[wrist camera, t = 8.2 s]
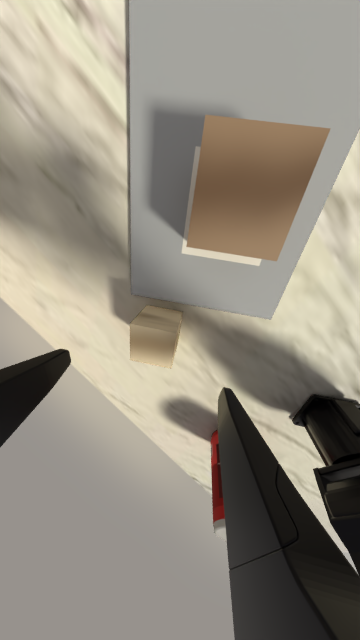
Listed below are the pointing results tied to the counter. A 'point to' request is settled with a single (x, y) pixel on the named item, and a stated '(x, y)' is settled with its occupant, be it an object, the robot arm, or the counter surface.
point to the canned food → (217, 490)
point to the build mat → (236, 102)
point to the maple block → (155, 336)
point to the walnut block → (251, 184)
